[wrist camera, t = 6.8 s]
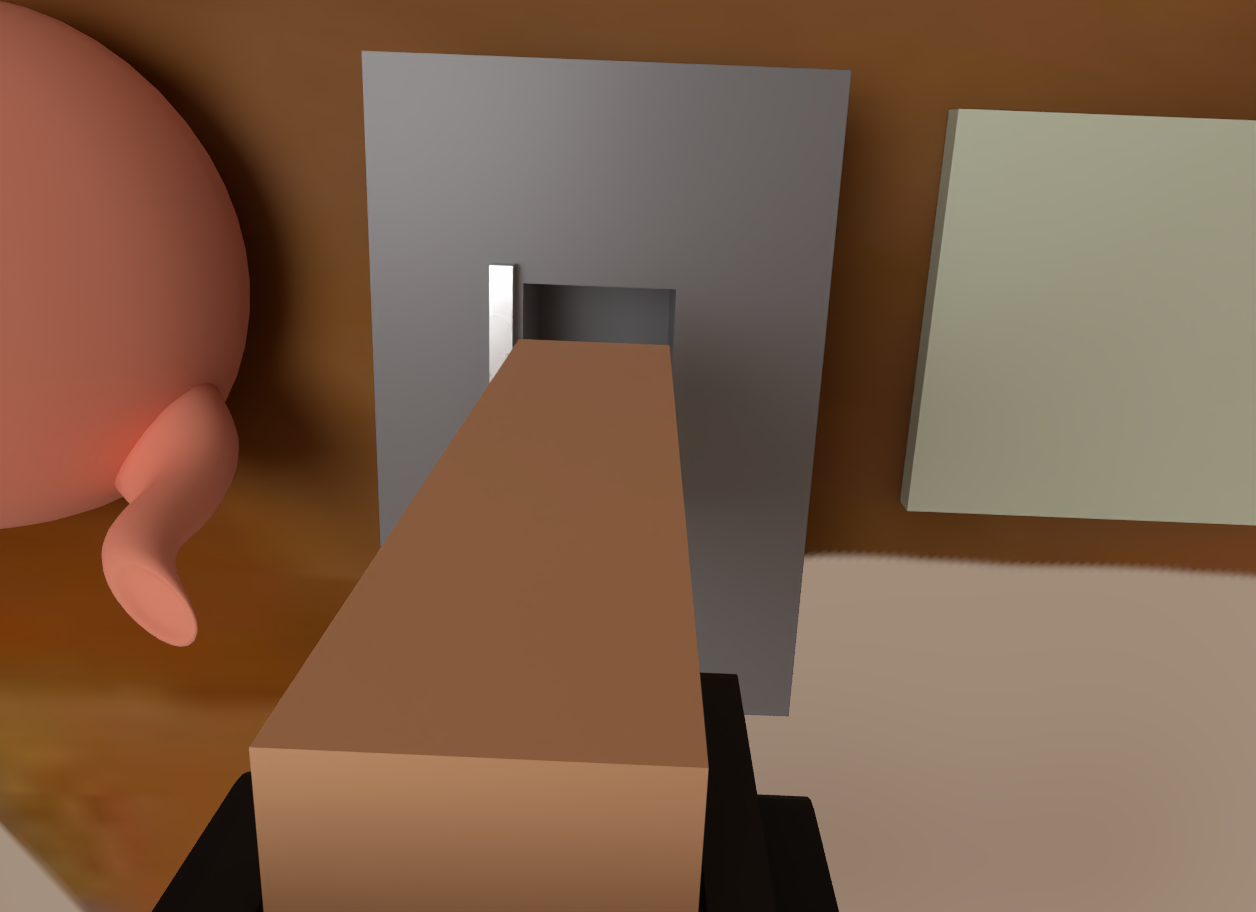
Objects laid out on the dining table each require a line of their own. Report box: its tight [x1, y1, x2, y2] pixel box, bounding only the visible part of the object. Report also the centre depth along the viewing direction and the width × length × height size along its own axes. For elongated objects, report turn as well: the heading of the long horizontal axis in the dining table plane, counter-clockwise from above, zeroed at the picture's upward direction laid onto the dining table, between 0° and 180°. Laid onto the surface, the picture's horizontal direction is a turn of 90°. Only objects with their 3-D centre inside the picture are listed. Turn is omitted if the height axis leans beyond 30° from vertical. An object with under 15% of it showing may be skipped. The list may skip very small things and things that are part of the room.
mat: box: [900, 109, 1256, 525], centre depth 33 cm, size 13×13×1 cm
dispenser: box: [362, 51, 851, 716], centre depth 30 cm, size 12×18×8 cm, turn 178°
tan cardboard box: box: [249, 339, 709, 912], centre depth 14 cm, size 3×6×14 cm, turn 178°
